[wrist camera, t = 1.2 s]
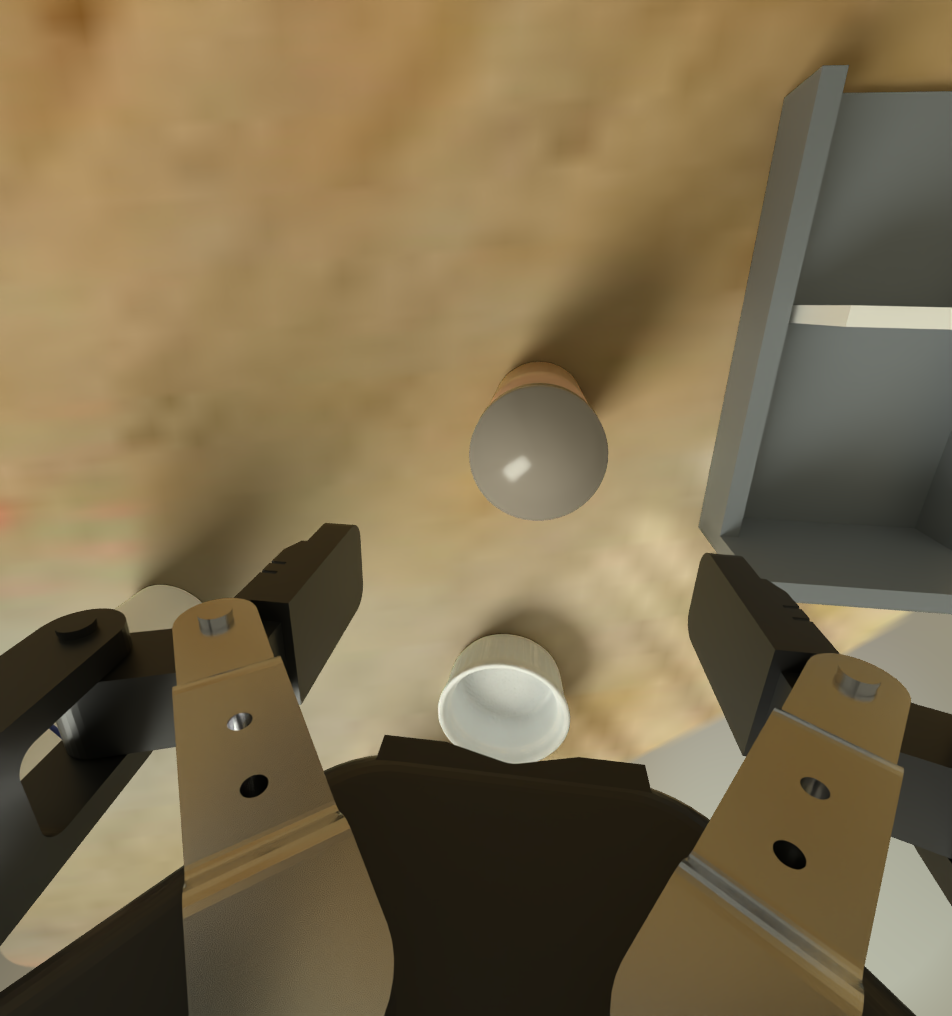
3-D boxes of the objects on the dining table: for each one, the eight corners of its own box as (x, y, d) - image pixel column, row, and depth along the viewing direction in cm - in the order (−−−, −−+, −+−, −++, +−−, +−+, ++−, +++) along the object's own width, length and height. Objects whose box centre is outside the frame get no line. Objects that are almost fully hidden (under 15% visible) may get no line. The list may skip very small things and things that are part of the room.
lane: (784, 97, 24) (904, -3, 16) (1091, 93, 23) (1384, -18, 15) (698, 527, 32) (750, 599, 24) (921, 541, 31) (1051, 621, 23)
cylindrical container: (185, 676, 42) (-252, 1137, 19) (113, 618, 40) (-456, 1039, 17) (235, 631, 39) (-194, 1092, 16) (161, 567, 38) (-424, 974, 15)
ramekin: (589, 693, 38) (595, 739, 34) (490, 737, 41) (485, 784, 37) (524, 605, 36) (522, 643, 32) (424, 657, 38) (411, 698, 34)
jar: (492, 358, 30) (470, 384, 20) (590, 361, 29) (616, 390, 20) (489, 451, 32) (468, 516, 22) (580, 456, 31) (600, 524, 22)
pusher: (775, 305, 27) (851, 305, 20) (988, 310, 26) (1140, 311, 19) (771, 321, 27) (845, 326, 20) (982, 326, 26) (1130, 334, 20)
